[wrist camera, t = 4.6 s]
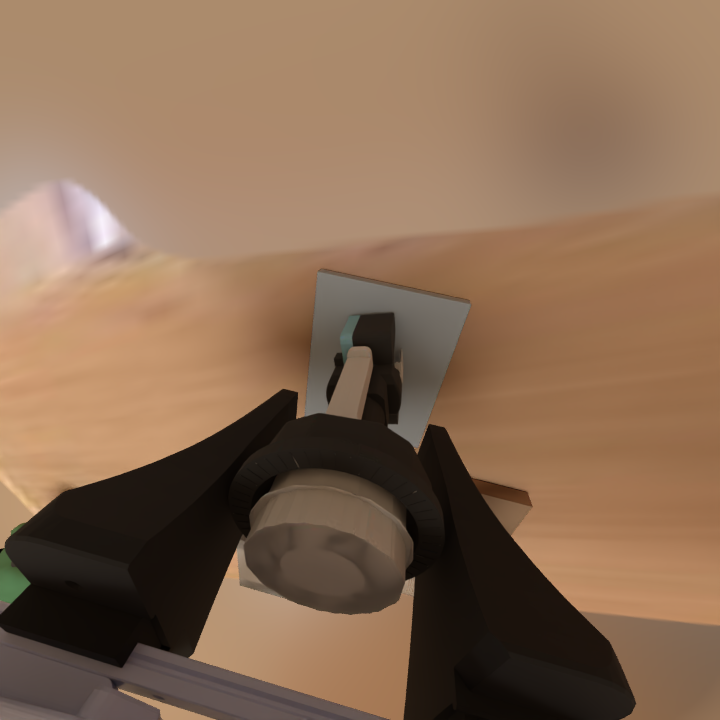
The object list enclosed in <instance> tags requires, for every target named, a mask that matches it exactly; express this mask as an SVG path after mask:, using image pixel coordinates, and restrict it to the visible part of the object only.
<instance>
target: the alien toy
mask: <svg viewBox="0 0 720 720" xmlns="http://www.w3.org/2000/svg"><path fill="white" fill-rule="evenodd" d="M24 524H25V523H22V524H20V525H18V526H17V527H16V528H14V529H13V530H12V531H11V535H12V534H13V533H15V532H16V531H17V530H18V529H19V528H20V527H22V526H23V525H24ZM30 584H31V583H30V582H29V581H28V580H27V579H26V577H25V576H24V575H23V574H22V573H21V572H20V570H19V569H18V568H17V567H16V566H15V564H14V563H13V562H12V561H11V560H10V558H9V557H8V555H7V554H6V552H5V548H3V549H0V601H3V602H7V603H10V604H11V603H12V602H13V601H14V600H15V599H16V598H17V597H18V596H19V595H20V594H21V593H22V592H23V591H24V590H25V589H26V588H27V587H28V586H29V585H30Z"/></svg>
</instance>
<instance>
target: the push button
mask: <svg viewBox="0 0 720 720" xmlns="http://www.w3.org/2000/svg"><path fill="white" fill-rule="evenodd" d="M340 344H341V350H342V353H336V355H335V357H334V365H335V369H334V371H333V373H332V375H331V377H330V380H329V382H328V384H327V389H326V398H327V402H328V405H329V406H328V409H327V411H326V414H325V413H316V414H312V415H309V416H305V417H302V418H298V419H295V420H291V421H289V422H287V423H286V424H285V425H284V426H283V427H282V429H281V430H280V431H279V433H278V434H277V435H276V436H275V438H274V439H273V440H272V442H271V443H270V444H269V445H267V446H265V447H263V448H261V449H259V450H258V451H256V452H255V453H254V454H252V455H251V456H250V457H249V458H248V459H247V460H246V461H245V462H244V464H243V465H242V466H241V468H240V469H239V471H238V473H237V474H236V476H235V477H234V479H233V481H232V483H231V486H230V490H229V497H228V500H229V508H230V512H231V515H232V517H233V520H234V521H235V523H236V525H237V527H238V528H239V530H240V531H241V532H242V534H243V535H244V536H245V537H246V538H247V539H246V541H245V543H244V546H243V549H244V554H245V560H246V566H247V567H248V568H249V569H250V570H251V572H252V573H253V574H254V575H255V576H256V577H257V578H258V580H259V581H260V582H261V583H262V584H263V585H264V586H266V587H267V588H269V589H271V590H272V591H274V592H276V593H278V594H279V595H281V596H283V597H284V598H286V599H287V600H290V601H293V602H295V603H297V604H300V605H303V606H307V607H310V608H313V609H316V610H319V611H327V612H331V613H342V614H349V615H352V614H361V613H372V612H379V611H381V610H382V609H384V608H386V607H388V606H390V605H392V604H395V603H396V602H397V601H398V600H399V598H400V596H401V593H402V590H403V587H404V585H405V581H406V580H409V579H412V578H414V577H416V576H418V575H420V574H421V573H423V572H425V571H426V570H427V569H429V568H430V567H431V566H432V565H433V564H434V563H435V562H436V561H437V559H438V558H439V556H440V554H441V552H442V550H443V547H444V543H445V529H444V519H443V512H442V509H441V505H440V503H439V501H438V499H437V497H436V495H435V494H434V492H433V491H432V485H431V482H430V480H429V478H428V476H427V474H426V472H425V470H424V468H423V466H422V464H421V462H420V460H419V458H418V456H417V454H416V452H415V450H414V448H413V446H412V444H411V443H410V442H409V441H407V440H406V439H404V438H403V437H401V436H400V435H398V434H397V433H395V432H394V431H392V430H391V429H389V428H388V424H398V418H399V410H400V407H401V400H402V383H403V352H402V349H401V351H400V362H394V347H395V316H394V313H385V314H369V315H355V316H349V317H348V321H347V323H346V325H345V327H344V329H343V330H342V332H341V335H340Z"/></svg>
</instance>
